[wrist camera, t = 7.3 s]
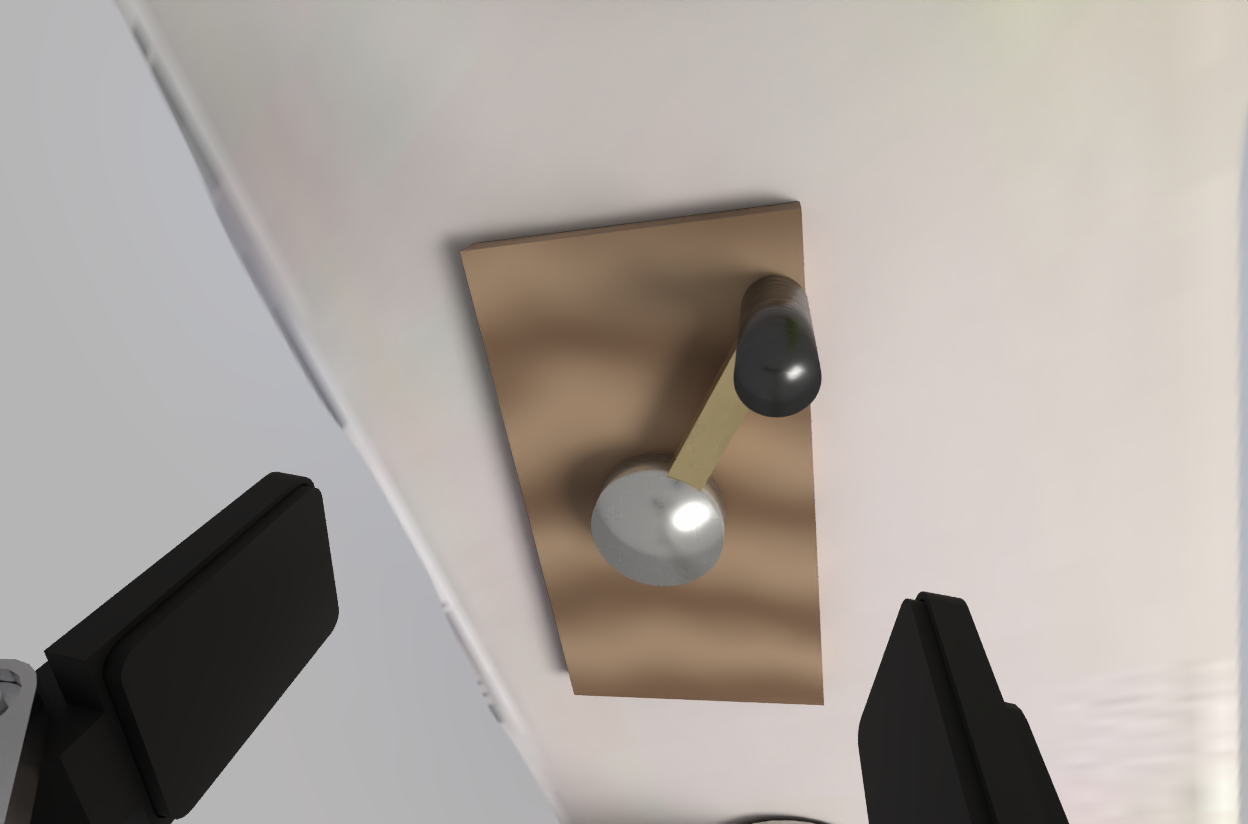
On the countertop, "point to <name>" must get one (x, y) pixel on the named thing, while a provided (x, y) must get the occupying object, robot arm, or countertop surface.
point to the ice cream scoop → (708, 445)
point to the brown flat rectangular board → (655, 448)
